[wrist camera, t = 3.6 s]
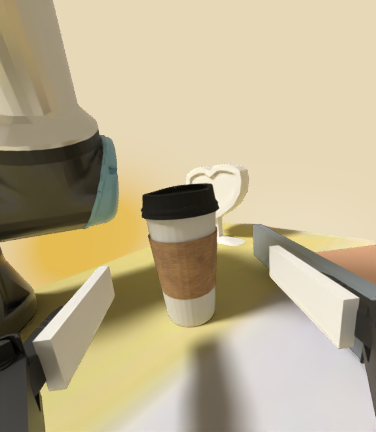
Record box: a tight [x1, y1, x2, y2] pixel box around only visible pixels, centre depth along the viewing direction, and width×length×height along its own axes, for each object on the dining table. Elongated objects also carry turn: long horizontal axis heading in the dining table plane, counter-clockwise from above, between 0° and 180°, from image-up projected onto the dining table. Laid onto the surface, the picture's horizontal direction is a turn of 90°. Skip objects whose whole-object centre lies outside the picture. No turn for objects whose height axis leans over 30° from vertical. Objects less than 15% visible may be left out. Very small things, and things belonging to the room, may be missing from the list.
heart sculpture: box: [186, 164, 249, 246], centre depth 43 cm, size 16×5×18 cm, turn 46°
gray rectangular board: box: [253, 224, 376, 358], centre depth 22 cm, size 2×24×6 cm, turn 3°
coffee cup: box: [141, 183, 219, 327], centre depth 20 cm, size 8×8×15 cm
